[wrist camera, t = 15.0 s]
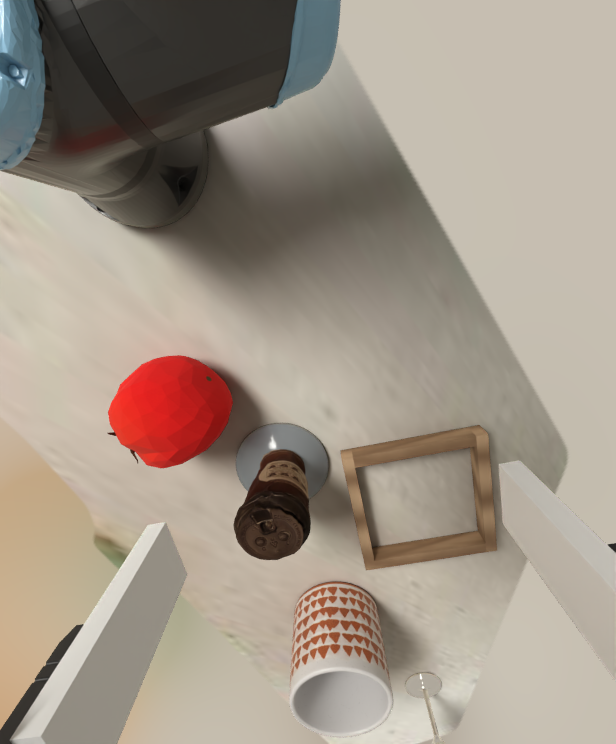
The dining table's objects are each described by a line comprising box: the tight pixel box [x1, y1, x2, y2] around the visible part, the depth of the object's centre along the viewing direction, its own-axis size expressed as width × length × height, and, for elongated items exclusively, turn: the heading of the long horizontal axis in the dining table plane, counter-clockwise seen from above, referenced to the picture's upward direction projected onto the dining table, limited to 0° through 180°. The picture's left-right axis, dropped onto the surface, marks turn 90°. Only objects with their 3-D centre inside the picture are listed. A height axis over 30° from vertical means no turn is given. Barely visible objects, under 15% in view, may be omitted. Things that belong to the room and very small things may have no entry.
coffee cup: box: [234, 449, 311, 560], centre depth 42 cm, size 9×8×13 cm
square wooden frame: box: [341, 425, 497, 570], centre depth 49 cm, size 19×19×2 cm
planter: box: [289, 582, 393, 737], centre depth 51 cm, size 14×14×13 cm
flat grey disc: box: [236, 423, 328, 499], centre depth 49 cm, size 13×13×1 cm
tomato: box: [108, 355, 233, 468], centre depth 41 cm, size 13×13×13 cm
